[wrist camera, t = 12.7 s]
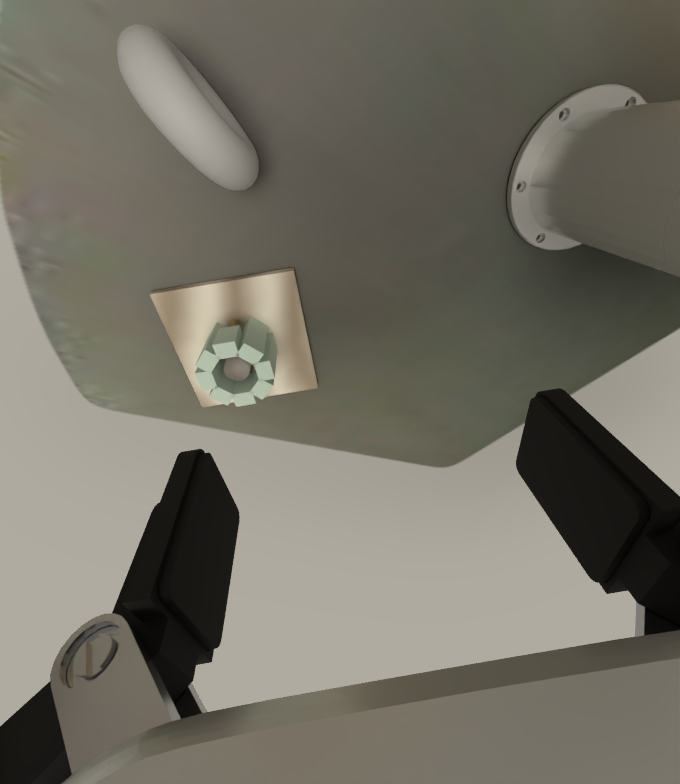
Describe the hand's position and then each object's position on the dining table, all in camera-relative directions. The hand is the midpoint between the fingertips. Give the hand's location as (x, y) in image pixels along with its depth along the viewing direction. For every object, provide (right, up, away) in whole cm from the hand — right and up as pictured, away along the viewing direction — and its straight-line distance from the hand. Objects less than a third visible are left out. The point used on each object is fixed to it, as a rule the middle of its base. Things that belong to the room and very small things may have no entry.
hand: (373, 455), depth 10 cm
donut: (-11, +23, +17) cm, 31 cm away
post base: (-12, +7, +28) cm, 31 cm away
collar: (-11, +7, +27) cm, 30 cm away
